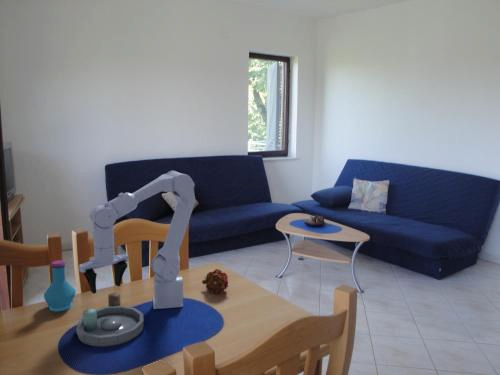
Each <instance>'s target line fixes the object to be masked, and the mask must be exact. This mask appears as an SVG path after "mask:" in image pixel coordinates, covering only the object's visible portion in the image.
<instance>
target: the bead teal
mask: <svg viewBox="0 0 500 375" xmlns="http://www.w3.org/2000/svg"><path fill="white" fill-rule="evenodd" d="M82 317H83V323H84V330H85V331H93V330H95V329H97V309H94V308H87V309H85V310H83V312H82Z"/></svg>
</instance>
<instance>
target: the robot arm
mask: <svg viewBox="0 0 500 375" xmlns="http://www.w3.org/2000/svg"><path fill="white" fill-rule="evenodd" d="M195 186H196V185H195V182H194V181H193V179H192V177H191V176H190V175H188V174H186V173H180V172H178V171H177V170H169V171H168V172H167V173H164V174H161V175H160V176H159V177H157V178H155V179H154V180H152V181H150V182H149V183H148V184H145V185H143V187H141V188H139V189H138V190H136V191H134V192H132V193H130V192H124V193H123V192H120V193H118V194H117V195H118V196H117V197H115V198H114V199H111V200H109V201H107V200H106V201H105V202H103V204H104V205H103V204H99V205H97V206H95V207H94V208H92V209H93V210H91V214H90V215H89V218H90V220H91V221H92V222H93V223H92V228H93V230H92V232H93V233H92V234H93V236H92V237H93V238H92V239H93V252H94V253H93V257H94V259H91V260H90V261H86V262H84V263H81V264H79V265H78V267H79V269H78V271H79V272H80V273H82V275H84V277H85V279H86V281H87V284H88V285H89V289H90V292H91V293H92V294H94V295H95V294H97V275H98V273H96V272H95V269H100V268H103V267H108V266H111V265H112V266H113V270H114V271H113V272H114V285H115V286H117V287H121V284H122V280H123V277H124V276H123V275H124V273H125V272H126V269H127V268H128V262H129V261H130V259H129V254H126V253H123V254H117V255H115V235H114V225H115V223H116V221H117V220H119V219H120V218H122V217H124V216H126V215H128V214H129V213H131V212H132V211H134V210H135V209H137V207H138V205H139V203H141V202H143V201H145V200H147V199H148V198H150V197H153V196H155V195H156V194H158V193H159V194H160V193H161V192H163V193H164V192H166V193H172V194H173V196H174V197H175V200H176V201H177V204H176V207H175V210H174V213H173V215H172V219H171V221H170V224H169V228H168V231H167V233H166V236H165V240H164V243H163V246H162V247H161V248H160V249H159V250H157V253H156V256H154V258H153V259H152V261H151V269H152V270H153V272H154V275H153V287H154V288H153V290H154V291H153V298H152V307H153V310H160V309H172V308H182V307H183V306H184V283H183V282H184V281H183V276H179V275H180V263H181V256H180V250H181V247H182V243H183V240H184V238H185V234H186V231H187V228H188V225H189V222H190V218H191V216H192V212H193V210H194V207H195V203H196V196H195Z"/></svg>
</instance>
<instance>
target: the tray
mask: <svg viewBox="0 0 500 375" xmlns="http://www.w3.org/2000/svg"><path fill="white" fill-rule="evenodd" d="M96 310H97V329H95V330H93V331H85V330H84V323H83V316H82V317H80V318H79V319H78V321H77V324H76V329H75V330H76V335H77V337H78V340H79V341H80V342H81V343H82V344H85V345H88V346H92V347H98V348H99V347H100V348H101V347H103V348H104V347H106V348H107V347H113V346H119V345H121V344H122V345H123V344H126V343H128V342H130V341H132V340H133V339H135V338H137V337H138V336H140V334H141V333H142V331H143V329H144V313H143V312H142V311H140V310H139V309H137V308H135V307H131V306H125V305H120V306H112V307H109V306H105V307H102V308H98V309H96Z"/></svg>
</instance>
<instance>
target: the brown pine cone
mask: <svg viewBox="0 0 500 375" xmlns="http://www.w3.org/2000/svg"><path fill="white" fill-rule="evenodd" d="M228 278H229V277H228V275H227V273H226V272H222V270H221V269H217V268H216V269H214V270H213V271H209V272H208V273H206V275H205V276H204V279H202V280H201V281H202V282H201V284H202V285H205V288H206V290H208V291H209V292H212V293H214V294H221V293H223V292H224V291H225V290H226V289H227V288H228V287H229V281H228V280H229V279H228Z"/></svg>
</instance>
